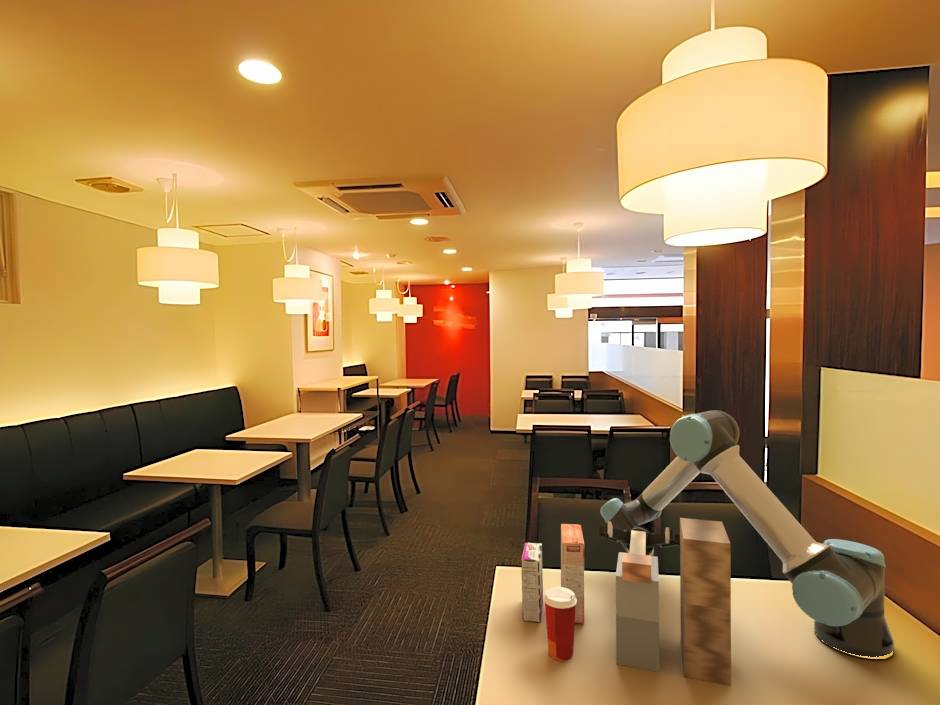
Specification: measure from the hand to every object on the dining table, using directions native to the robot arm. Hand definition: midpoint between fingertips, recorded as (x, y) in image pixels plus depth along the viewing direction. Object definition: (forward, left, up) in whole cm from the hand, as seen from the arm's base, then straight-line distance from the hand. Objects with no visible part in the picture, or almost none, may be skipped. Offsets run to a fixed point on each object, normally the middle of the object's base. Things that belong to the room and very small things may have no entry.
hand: (637, 529), depth 124 cm
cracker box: (+17, -6, -26) cm, 32 cm away
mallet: (0, +5, -6) cm, 7 cm away
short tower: (0, +8, -26) cm, 27 cm away
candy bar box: (+27, -2, -26) cm, 37 cm away
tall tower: (-14, +8, -26) cm, 30 cm away
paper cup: (+17, +14, -26) cm, 34 cm away
